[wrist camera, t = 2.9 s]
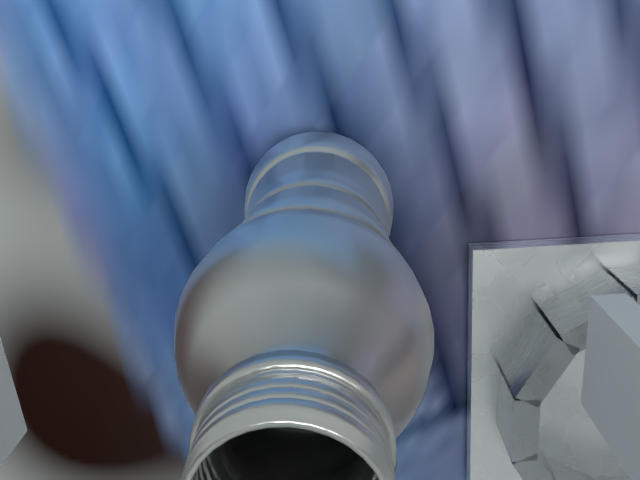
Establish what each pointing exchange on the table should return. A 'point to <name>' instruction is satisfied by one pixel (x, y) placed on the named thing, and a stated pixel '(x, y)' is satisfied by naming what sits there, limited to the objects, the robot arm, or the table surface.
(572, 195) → the table surface
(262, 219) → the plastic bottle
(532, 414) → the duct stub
